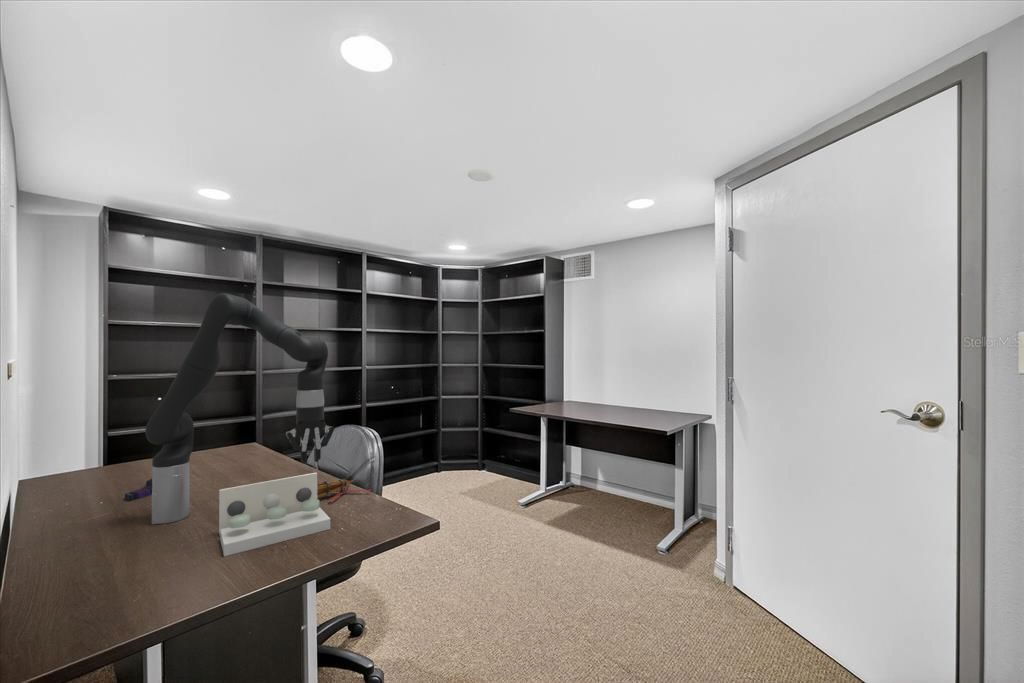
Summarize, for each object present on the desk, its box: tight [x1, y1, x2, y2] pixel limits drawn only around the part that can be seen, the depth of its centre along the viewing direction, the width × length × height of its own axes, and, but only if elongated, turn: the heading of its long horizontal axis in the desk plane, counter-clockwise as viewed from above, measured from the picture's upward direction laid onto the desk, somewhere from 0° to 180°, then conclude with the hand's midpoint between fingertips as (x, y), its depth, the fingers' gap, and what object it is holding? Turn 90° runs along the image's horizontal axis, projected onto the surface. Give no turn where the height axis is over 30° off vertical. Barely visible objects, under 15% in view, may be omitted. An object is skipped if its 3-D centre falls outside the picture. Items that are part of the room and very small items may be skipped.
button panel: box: [219, 506, 331, 557], centre depth 122 cm, size 26×12×3 cm, turn 128°
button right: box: [302, 498, 320, 512], centre depth 127 cm, size 5×5×2 cm
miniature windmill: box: [317, 478, 371, 503], centre depth 151 cm, size 15×11×30 cm
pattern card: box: [218, 472, 318, 537], centre depth 130 cm, size 26×4×13 cm, turn 128°
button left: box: [229, 514, 250, 528], centre depth 116 cm, size 5×5×2 cm
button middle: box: [267, 506, 286, 520], centre depth 122 cm, size 5×5×2 cm
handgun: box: [124, 478, 152, 502], centre depth 162 cm, size 3×20×15 cm
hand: (310, 462), depth 127 cm, fingers open, 2 cm apart
